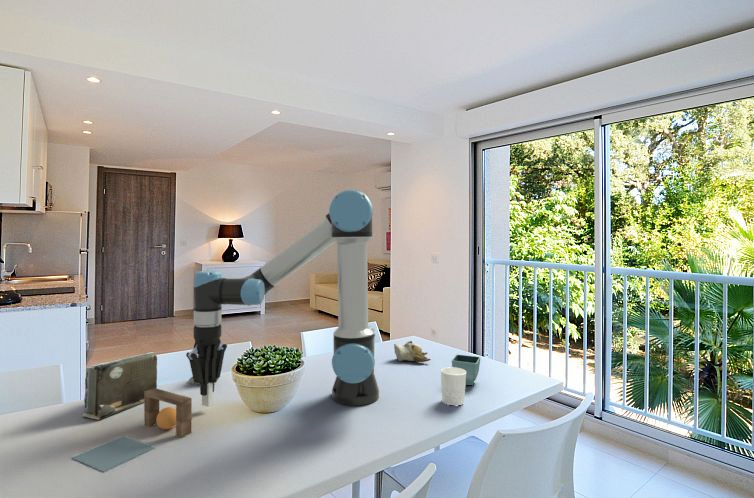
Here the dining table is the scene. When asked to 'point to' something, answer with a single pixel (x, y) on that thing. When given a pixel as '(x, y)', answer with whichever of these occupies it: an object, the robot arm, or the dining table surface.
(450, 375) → the white cup
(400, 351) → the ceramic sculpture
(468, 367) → the flower pot
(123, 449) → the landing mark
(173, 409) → the ball
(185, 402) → the bridge
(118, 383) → the radio
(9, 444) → the dining table surface
